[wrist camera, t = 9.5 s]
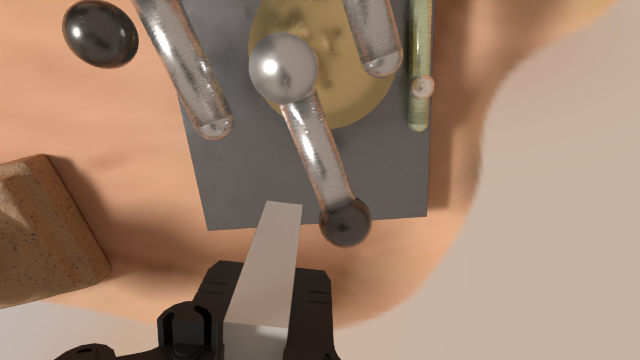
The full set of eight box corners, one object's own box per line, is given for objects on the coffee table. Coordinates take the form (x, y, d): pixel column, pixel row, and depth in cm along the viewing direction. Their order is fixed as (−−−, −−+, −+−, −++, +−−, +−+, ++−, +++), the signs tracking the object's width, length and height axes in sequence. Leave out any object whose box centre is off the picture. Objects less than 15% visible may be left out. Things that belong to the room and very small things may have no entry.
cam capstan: (248, 215, 24) (205, 302, 15) (148, 11, 19) (9, -24, 11) (448, 147, 22) (527, 204, 13) (389, -97, 17) (451, -244, 9)
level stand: (142, -131, 19) (96, -179, 15) (429, -163, 18) (457, -222, 14) (216, 218, 26) (198, 246, 22) (419, 205, 26) (435, 231, 22)
